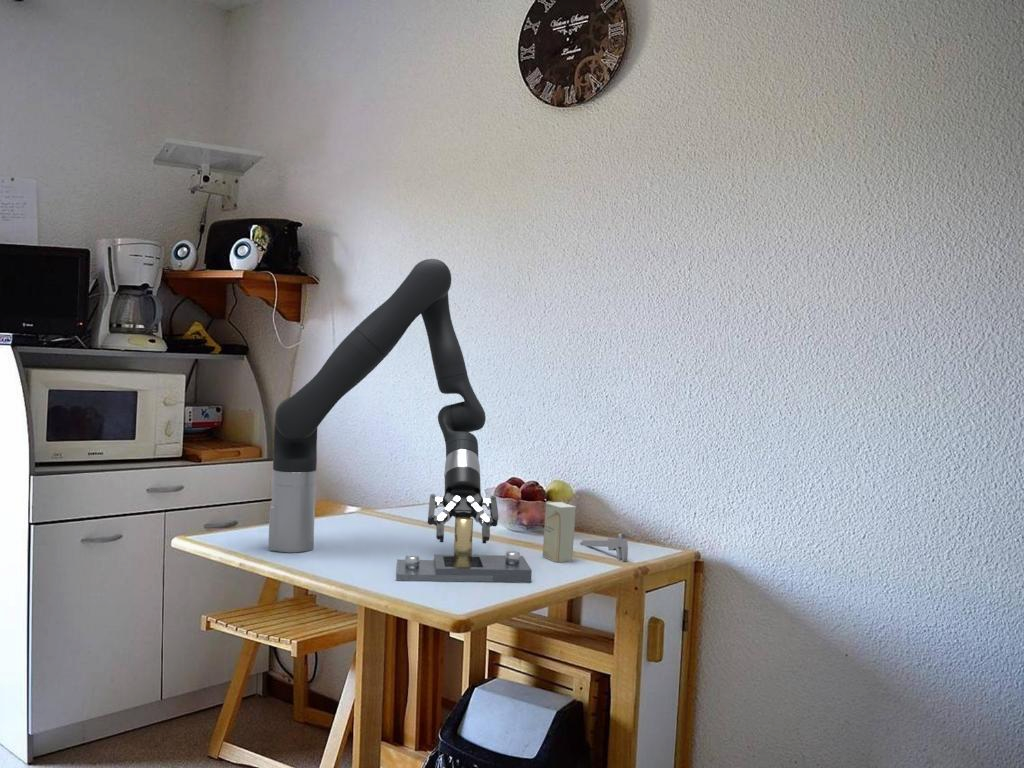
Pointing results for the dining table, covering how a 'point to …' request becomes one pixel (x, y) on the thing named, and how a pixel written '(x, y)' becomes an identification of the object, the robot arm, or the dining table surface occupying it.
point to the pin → (463, 542)
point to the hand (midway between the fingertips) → (463, 540)
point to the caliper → (611, 545)
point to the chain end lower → (431, 571)
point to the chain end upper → (489, 567)
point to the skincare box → (559, 531)
